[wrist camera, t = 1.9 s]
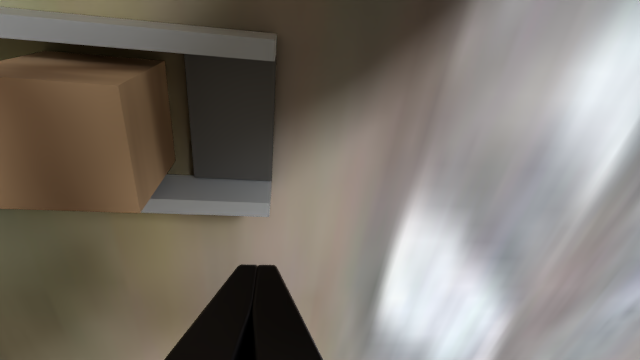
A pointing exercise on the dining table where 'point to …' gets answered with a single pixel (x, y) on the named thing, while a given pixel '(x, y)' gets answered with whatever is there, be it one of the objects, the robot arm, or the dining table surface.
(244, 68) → the channel
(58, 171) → the block
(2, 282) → the dining table surface
